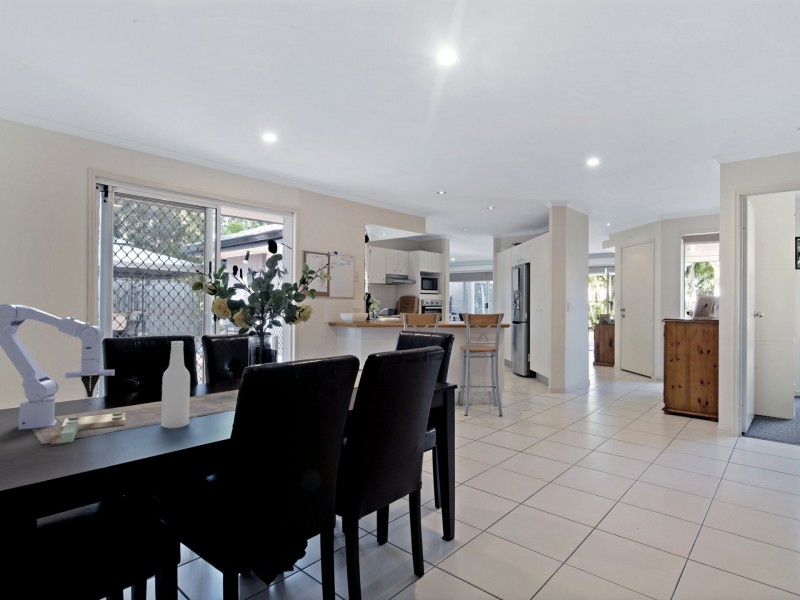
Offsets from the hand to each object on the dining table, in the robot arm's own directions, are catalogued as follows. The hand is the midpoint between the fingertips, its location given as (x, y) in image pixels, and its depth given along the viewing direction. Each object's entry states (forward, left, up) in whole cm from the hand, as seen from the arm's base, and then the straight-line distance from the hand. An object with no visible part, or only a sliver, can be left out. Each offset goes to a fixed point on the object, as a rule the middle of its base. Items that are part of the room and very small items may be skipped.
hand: (89, 396), depth 156 cm
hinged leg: (-4, -18, -9) cm, 20 cm away
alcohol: (+26, -19, -10) cm, 34 cm away
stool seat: (+1, -11, -9) cm, 15 cm away
